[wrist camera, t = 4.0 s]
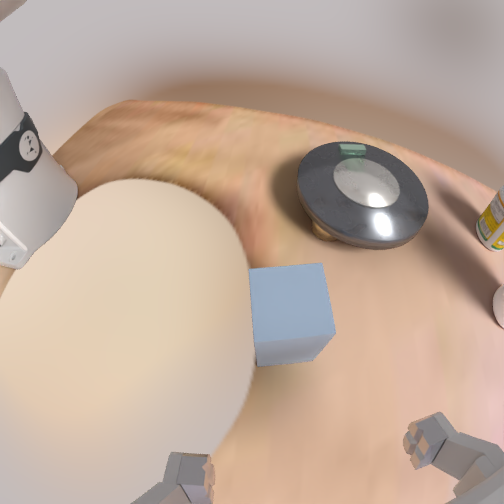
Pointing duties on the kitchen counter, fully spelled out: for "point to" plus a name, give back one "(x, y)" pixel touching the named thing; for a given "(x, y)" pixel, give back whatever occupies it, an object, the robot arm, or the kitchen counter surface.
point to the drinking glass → (499, 305)
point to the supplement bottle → (492, 223)
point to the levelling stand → (361, 196)
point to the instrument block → (290, 313)
